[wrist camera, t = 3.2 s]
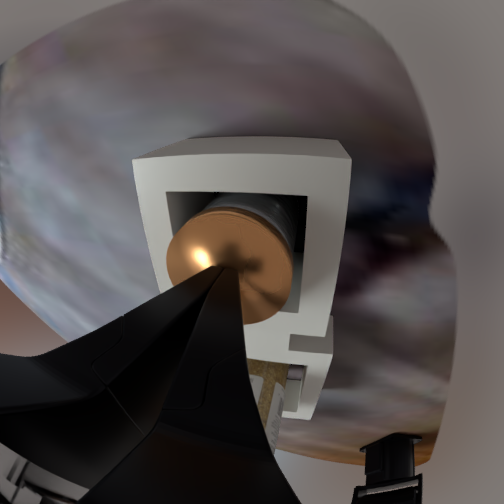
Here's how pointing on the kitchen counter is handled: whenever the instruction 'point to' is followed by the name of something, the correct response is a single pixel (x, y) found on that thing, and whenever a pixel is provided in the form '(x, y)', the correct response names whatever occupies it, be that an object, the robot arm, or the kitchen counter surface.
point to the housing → (305, 264)
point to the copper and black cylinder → (242, 247)
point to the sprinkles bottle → (269, 394)
